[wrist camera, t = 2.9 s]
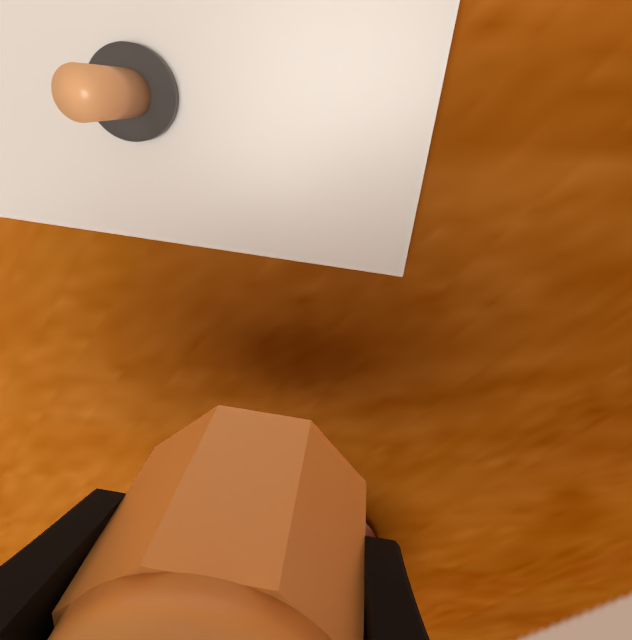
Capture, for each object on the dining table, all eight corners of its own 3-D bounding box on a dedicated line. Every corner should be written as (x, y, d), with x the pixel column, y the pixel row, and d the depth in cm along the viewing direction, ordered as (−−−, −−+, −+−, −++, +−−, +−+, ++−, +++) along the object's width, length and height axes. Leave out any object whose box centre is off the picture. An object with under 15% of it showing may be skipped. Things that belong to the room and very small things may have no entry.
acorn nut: (380, 429, 10) (386, 768, 5) (345, 587, 13) (325, 945, 7) (152, 392, 11) (-64, 680, 5) (155, 553, 13) (1, 876, 7)
